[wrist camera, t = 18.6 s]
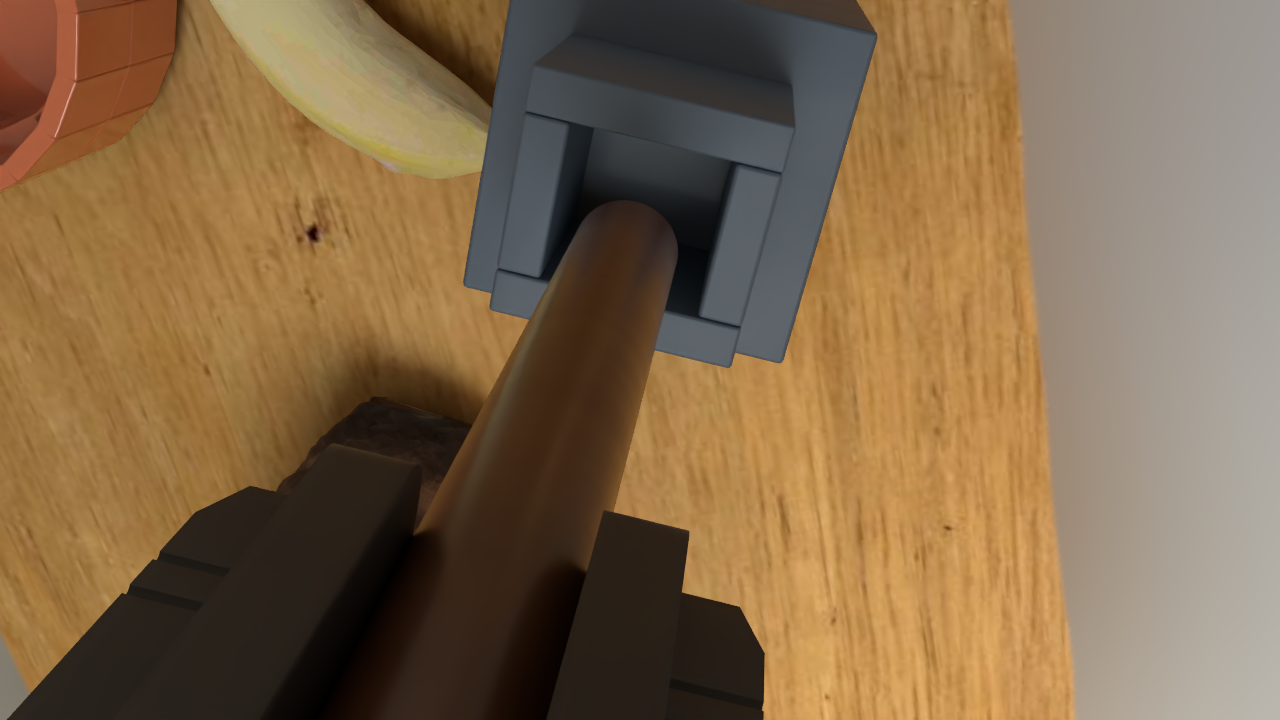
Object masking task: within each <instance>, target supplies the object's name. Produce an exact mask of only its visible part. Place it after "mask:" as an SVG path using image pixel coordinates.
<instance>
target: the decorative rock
mask: <svg viewBox="0 0 1280 720" xmlns="http://www.w3.org/2000/svg"><path fill="white" fill-rule="evenodd" d="M472 426H473V425H470V424H467V423H464V422H461V421H458V420H455V419H452V418H449V417H446V416H443V415H440V414H437V413H434V412H430V411H425V410H422V409H419V408H416V407H413V406H409V405H406V404H403V403H400V402H396V401H392V400H390V399H388V398H387V397H382V398H381V397H372V398H371V399H370V401H369V402H364V403H360V404H359V405H358V406H357V407H356V408H355V410H354V411H353V412H351V413H350V414H349V415H348V416H346V417H345V418H344V419H342V420H341V421H340V422H338V423H337V424H336V425H335V426H334V427H333V428H332V429H331V430H330V431H329V432H328V433H327V434H325V435H324V436H322V437H321V438H320V439H319V440H318V442H317V443H316V445H314V446H313V447H312V448H311V449H310V451H309V454H308V456H307V458H306V460H305V461H304V462H303V463H302V465H301V466H300V467H299V468H298V469H297V471H296V472H295V473H293V474H292V475H290V476H289V477H287V478H286V479H284V480H283V481H282V482H281V484H280V485H279V487H278V489H277V491H276V492H277V493H281V494H285V495H289V494H290V493H291V491H292V490H293V489H294V488H295V486H296V485H297V484H298V482H299V481H300V480H301V479H302V477H303V476H304V475H305V474H306V472H307V471H308V470H309V468H310V467H311V466H312V465H313V463H314V462H315V461H316V459H317V458H318V457H319V456H320V454H321V453H322V452H323V451H324V449H325V448H326V447H327V446H329V445H330V444H333V443H335V444H339V445H343V446H347V447H351V448H355V449H359V450H363V451H367V452H371V453H375V454H379V455H383V456H388V457H392V458H396V459H400V460H404V461H408V462H412V463H416V464H419V465H420V466H421V471H422V481H421V490H420V497H419V503H418V509H417V516H416V522H415V528H414V534H415V532H416V530H417V528H418V526H419V524H420V523H421V521H422V519H423V517H424V515H425V513H426V511H427V509H428V508H429V506H430V504H431V502H432V500H433V498H434V496H435V495H436V493H437V491H438V489H439V487H440V485H441V483H442V482H443V480H444V478H445V476H446V474H447V472H448V470H449V468H450V467H451V465H452V463H453V461H454V459H455V457H456V455H457V454H458V452H459V450H460V448H461V446H462V444H463V442H464V441H465V439H466V437H467V435H468V433H469V431H470V429H471V428H472ZM414 534H413V536H414Z"/></svg>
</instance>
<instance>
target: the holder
mask: <svg viewBox="0 0 1280 720" xmlns="http://www.w3.org/2000/svg"><path fill="white" fill-rule="evenodd" d="M876 41H877V33H876V32H875V30H874V28H873V27H872V25H871V24H870V22H869V20H868V19H867V17H866V16H865V14H864V12H863V11H862V9H861V7H860V6H859V4H858V3H857V1H856V0H510V2H509V8H508V14H507V20H506V26H505V32H504V38H503V44H502V51H501V57H500V63H499V69H498V75H497V81H496V87H495V93H494V99H493V105H492V111H491V117H490V123H489V129H488V135H487V141H486V147H485V153H484V160H483V166H482V172H481V178H480V184H479V190H478V196H477V202H476V208H475V214H474V220H473V226H472V232H471V238H470V244H469V250H468V256H467V262H466V268H465V275H464V281H463V283H464V286H465V287H468V288H472V289H476V290H480V291H484V292H489V293H492V295H491V300H490V310H492V311H496V312H500V313H504V314H509V315H513V316H517V317H521V318H525V319H530V318H531V316H532V314H533V312H534V310H535V308H536V306H537V305H538V303H539V301H540V299H541V297H542V295H543V293H544V291H545V290H546V288H547V286H548V284H549V282H550V280H551V278H552V277H553V275H554V273H555V271H556V269H557V267H558V265H559V264H560V262H561V260H562V258H563V256H564V254H565V252H566V250H567V249H568V247H569V245H570V243H571V241H572V239H573V237H574V236H575V234H576V232H577V230H578V228H579V226H580V224H581V223H582V221H583V220H584V219H585V217H586V216H587V215H588V214H589V213H590V212H592V211H593V210H594V209H596V208H597V207H599V206H601V205H603V204H605V203H609V202H612V201H618V200H629V201H636V202H640V203H643V204H645V205H647V206H649V207H651V208H653V209H654V210H656V211H657V212H659V213H660V214H661V215H662V216H663V217H664V218H665V219H666V220H667V222H668V223H669V225H670V226H671V228H672V230H673V232H674V234H675V237H676V240H677V245H678V259H677V264H676V268H675V272H674V276H673V280H672V284H671V287H670V291H669V295H668V299H667V303H666V307H665V311H664V315H663V319H662V323H661V327H660V331H659V335H658V339H657V342H656V346H655V350H656V351H660V352H664V353H669V354H673V355H677V356H681V357H685V358H689V359H693V360H697V361H701V362H705V363H710V364H714V365H718V366H722V367H726V368H730V366H731V365H732V362H733V358H734V354H735V353H739V354H743V355H747V356H751V357H755V358H760V359H764V360H768V361H772V362H776V363H781V362H782V361H783V360H784V356H785V353H786V349H787V346H788V343H789V339H790V336H791V332H792V329H793V325H794V322H795V319H796V315H797V312H798V308H799V305H800V301H801V298H802V295H803V291H804V288H805V284H806V281H807V277H808V274H809V271H810V267H811V264H812V260H813V257H814V253H815V250H816V247H817V243H818V240H819V236H820V233H821V229H822V226H823V222H824V219H825V216H826V212H827V209H828V205H829V202H830V198H831V195H832V192H833V188H834V185H835V181H836V178H837V174H838V171H839V168H840V164H841V161H842V157H843V154H844V150H845V147H846V144H847V140H848V137H849V133H850V130H851V126H852V123H853V120H854V116H855V113H856V109H857V106H858V102H859V99H860V96H861V92H862V89H863V85H864V82H865V78H866V75H867V72H868V68H869V65H870V61H871V58H872V54H873V51H874V48H875V44H876Z"/></svg>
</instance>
